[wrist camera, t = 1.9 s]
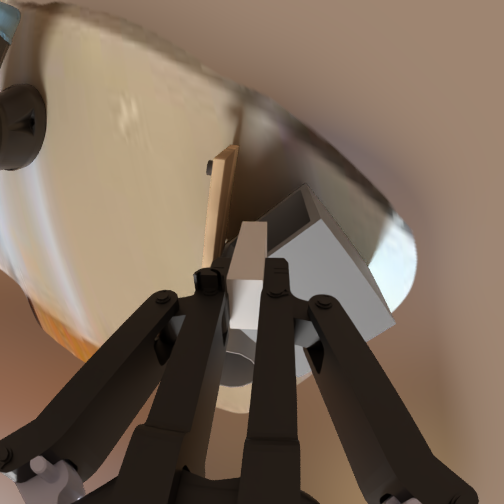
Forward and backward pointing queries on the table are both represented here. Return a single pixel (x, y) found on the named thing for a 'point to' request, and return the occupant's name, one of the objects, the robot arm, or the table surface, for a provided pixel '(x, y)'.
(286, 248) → the grey open box
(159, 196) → the table surface
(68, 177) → the table surface
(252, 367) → the cup
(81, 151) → the table surface
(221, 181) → the wooden cabinet door
